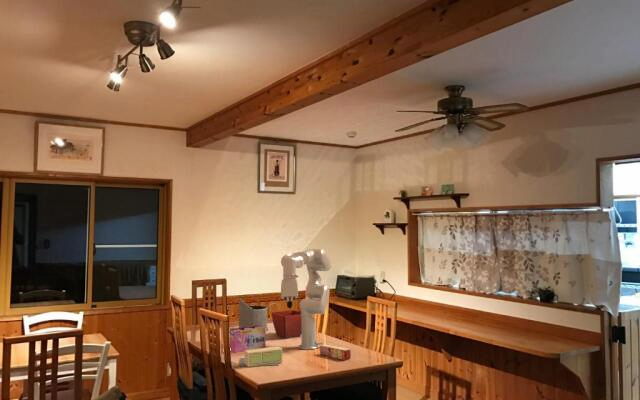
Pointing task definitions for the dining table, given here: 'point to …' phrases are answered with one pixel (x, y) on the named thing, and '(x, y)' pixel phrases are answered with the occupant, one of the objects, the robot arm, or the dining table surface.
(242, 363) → the mat
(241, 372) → the dining table surface
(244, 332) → the gum box
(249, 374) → the dining table surface
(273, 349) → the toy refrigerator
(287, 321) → the plant pot
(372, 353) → the dining table surface
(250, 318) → the pitcher
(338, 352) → the snack package
